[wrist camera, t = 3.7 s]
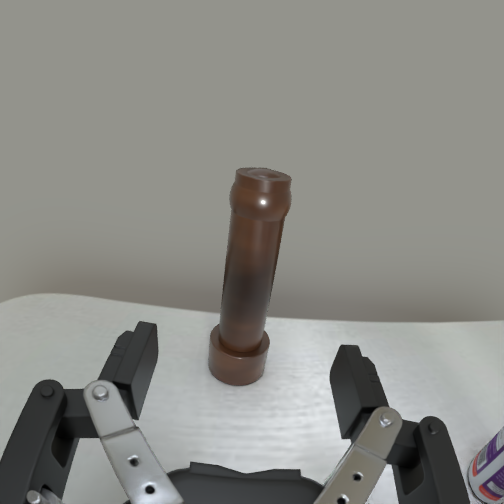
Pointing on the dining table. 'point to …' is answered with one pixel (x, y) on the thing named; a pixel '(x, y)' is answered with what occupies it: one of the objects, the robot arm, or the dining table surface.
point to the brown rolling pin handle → (249, 274)
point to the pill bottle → (489, 471)
